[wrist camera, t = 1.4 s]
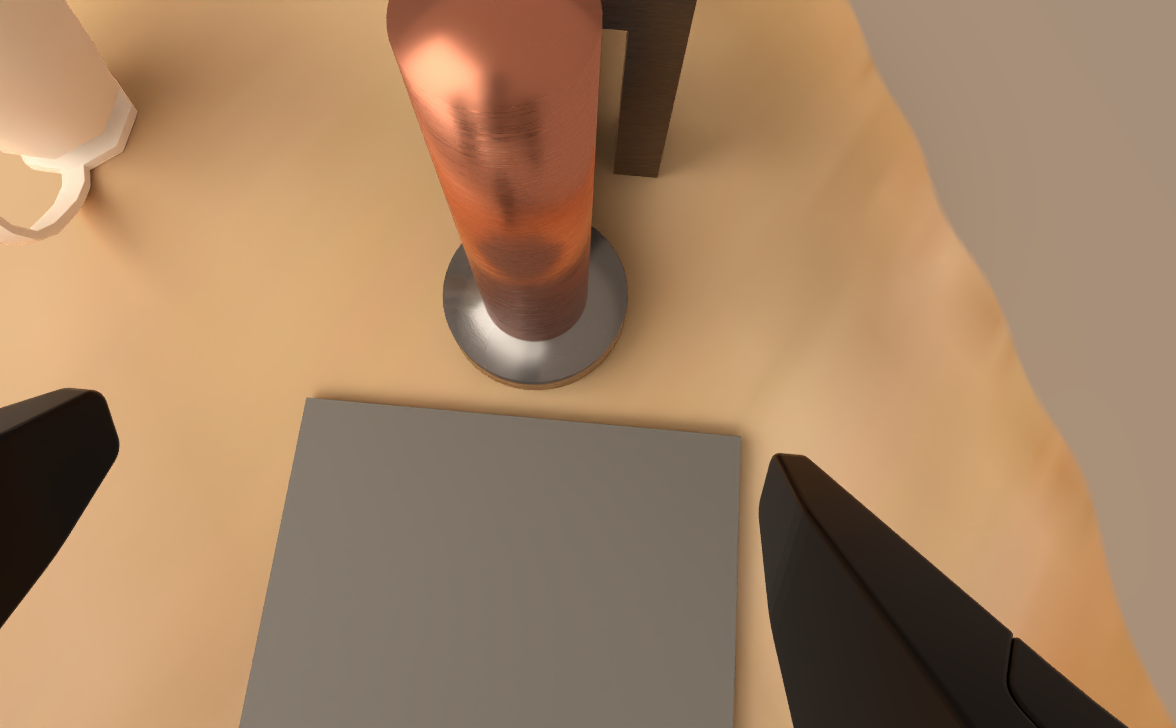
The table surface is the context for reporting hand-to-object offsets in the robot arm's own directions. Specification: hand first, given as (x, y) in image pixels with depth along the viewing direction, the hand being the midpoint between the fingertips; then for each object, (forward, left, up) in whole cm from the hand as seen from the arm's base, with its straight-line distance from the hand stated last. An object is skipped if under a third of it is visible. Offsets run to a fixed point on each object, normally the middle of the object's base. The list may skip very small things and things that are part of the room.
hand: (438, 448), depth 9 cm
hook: (+12, 0, -13) cm, 18 cm away
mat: (-3, 0, -13) cm, 13 cm away
